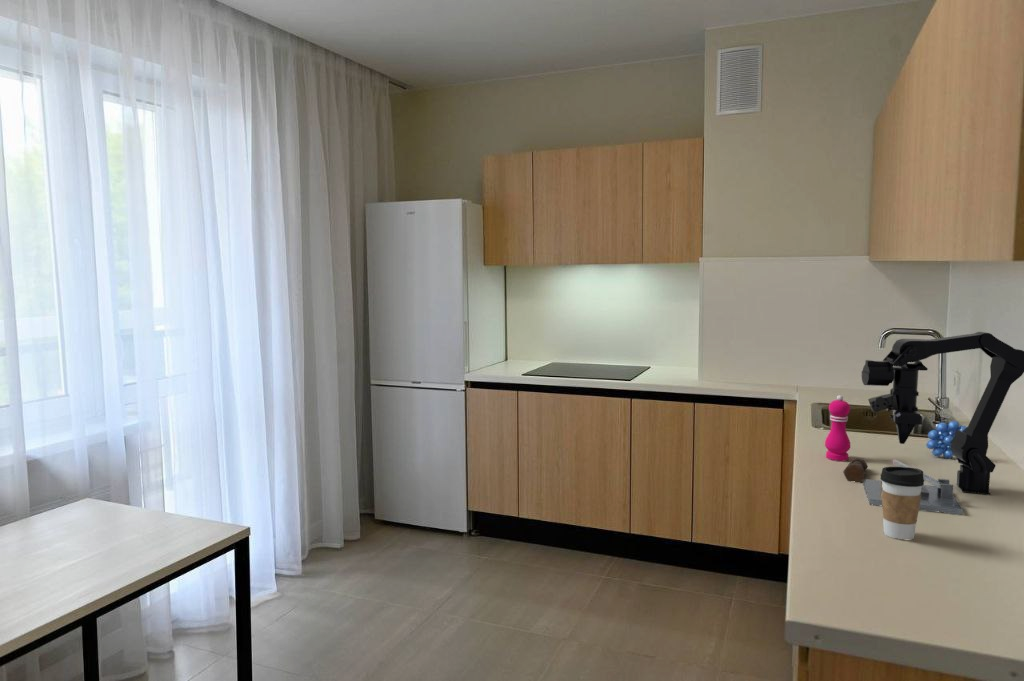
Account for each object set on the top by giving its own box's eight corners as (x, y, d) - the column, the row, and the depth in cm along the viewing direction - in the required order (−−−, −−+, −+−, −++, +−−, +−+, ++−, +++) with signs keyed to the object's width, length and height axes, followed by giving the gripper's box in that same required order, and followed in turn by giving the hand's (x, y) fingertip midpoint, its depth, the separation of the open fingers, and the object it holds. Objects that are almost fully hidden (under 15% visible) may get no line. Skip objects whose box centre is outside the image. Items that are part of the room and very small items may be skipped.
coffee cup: (919, 545, 149) (924, 477, 148) (875, 537, 154) (879, 471, 152) (921, 532, 156) (925, 467, 155) (878, 525, 161) (882, 462, 159)
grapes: (966, 456, 219) (969, 419, 218) (970, 462, 213) (973, 423, 212) (923, 453, 224) (926, 416, 223) (926, 458, 218) (929, 420, 217)
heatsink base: (946, 492, 184) (948, 474, 184) (962, 515, 168) (963, 494, 167) (862, 484, 192) (863, 466, 191) (869, 504, 175) (870, 485, 174)
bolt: (861, 475, 206) (856, 487, 193) (846, 465, 208) (839, 476, 195) (873, 460, 204) (869, 471, 191) (857, 449, 206) (852, 459, 194)
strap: (946, 489, 178) (949, 486, 178) (949, 493, 176) (951, 490, 175) (892, 462, 182) (894, 458, 182) (893, 465, 180) (895, 461, 179)
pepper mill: (824, 460, 215) (827, 396, 213) (823, 454, 222) (826, 392, 220) (850, 462, 213) (853, 398, 211) (848, 456, 219) (852, 394, 217)
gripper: (867, 379, 198) (865, 433, 200) (875, 390, 181) (872, 449, 182) (912, 381, 194) (909, 436, 195) (924, 392, 177) (920, 453, 178)
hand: (901, 443), depth 188 cm, fingers closed
